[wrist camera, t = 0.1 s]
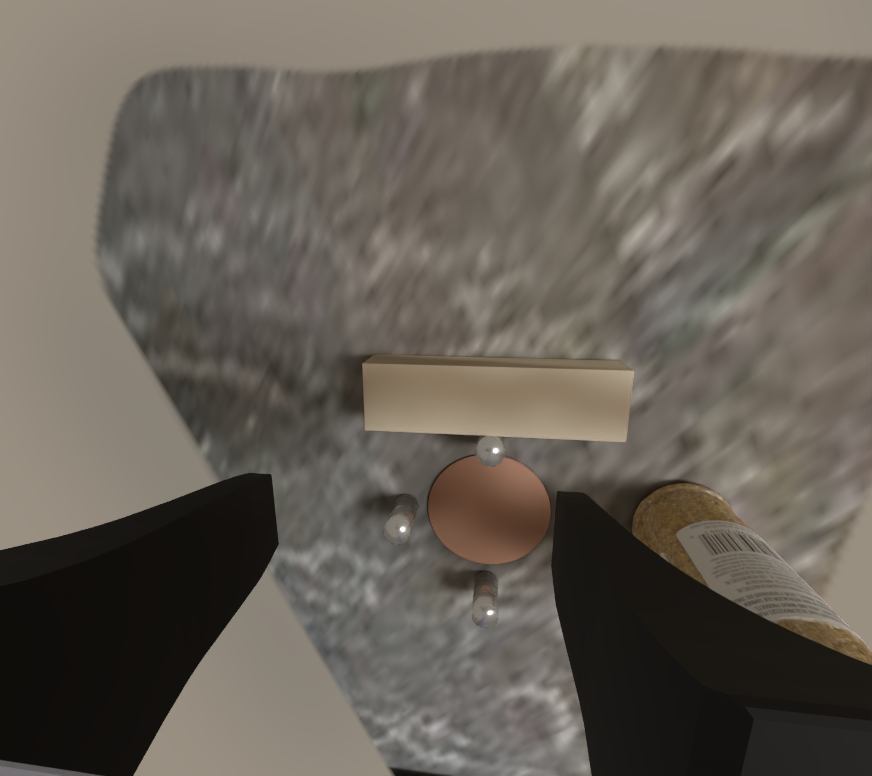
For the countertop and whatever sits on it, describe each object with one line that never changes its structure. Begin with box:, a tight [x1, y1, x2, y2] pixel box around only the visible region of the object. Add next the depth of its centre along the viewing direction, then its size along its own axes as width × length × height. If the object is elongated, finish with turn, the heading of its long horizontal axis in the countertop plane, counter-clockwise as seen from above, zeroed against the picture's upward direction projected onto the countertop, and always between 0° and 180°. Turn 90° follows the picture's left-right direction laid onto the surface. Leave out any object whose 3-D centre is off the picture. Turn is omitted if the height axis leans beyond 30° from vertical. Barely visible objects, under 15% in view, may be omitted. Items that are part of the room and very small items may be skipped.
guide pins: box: [383, 435, 505, 628], centre depth 21 cm, size 9×5×2 cm, turn 0°
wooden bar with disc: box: [362, 355, 634, 564], centre depth 21 cm, size 11×11×2 cm
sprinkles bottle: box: [632, 483, 872, 665], centre depth 15 cm, size 5×5×14 cm
